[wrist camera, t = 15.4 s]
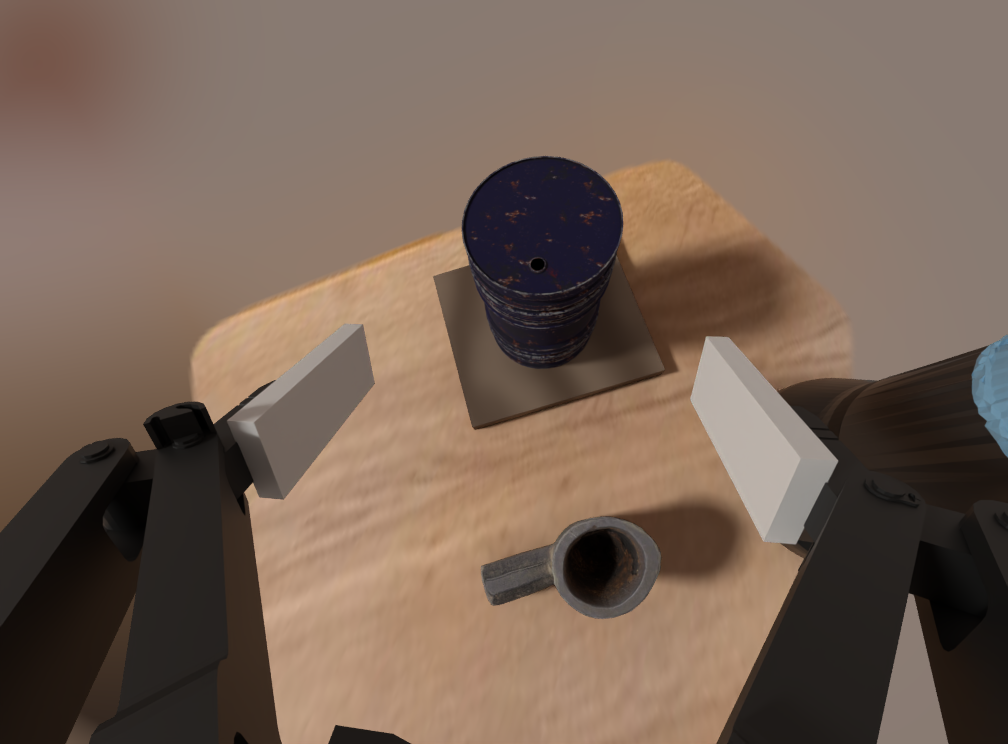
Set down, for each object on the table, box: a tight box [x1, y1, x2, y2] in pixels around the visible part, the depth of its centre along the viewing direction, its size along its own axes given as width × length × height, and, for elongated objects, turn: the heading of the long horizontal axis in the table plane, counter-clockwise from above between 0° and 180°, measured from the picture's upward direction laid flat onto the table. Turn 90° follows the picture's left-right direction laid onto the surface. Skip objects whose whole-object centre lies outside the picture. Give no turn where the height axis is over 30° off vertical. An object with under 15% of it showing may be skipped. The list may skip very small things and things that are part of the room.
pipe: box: [481, 517, 661, 619], centre depth 30 cm, size 6×13×8 cm, turn 108°
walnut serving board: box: [433, 255, 665, 430], centre depth 39 cm, size 18×16×2 cm
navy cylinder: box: [462, 156, 623, 369], centre depth 31 cm, size 10×10×15 cm
